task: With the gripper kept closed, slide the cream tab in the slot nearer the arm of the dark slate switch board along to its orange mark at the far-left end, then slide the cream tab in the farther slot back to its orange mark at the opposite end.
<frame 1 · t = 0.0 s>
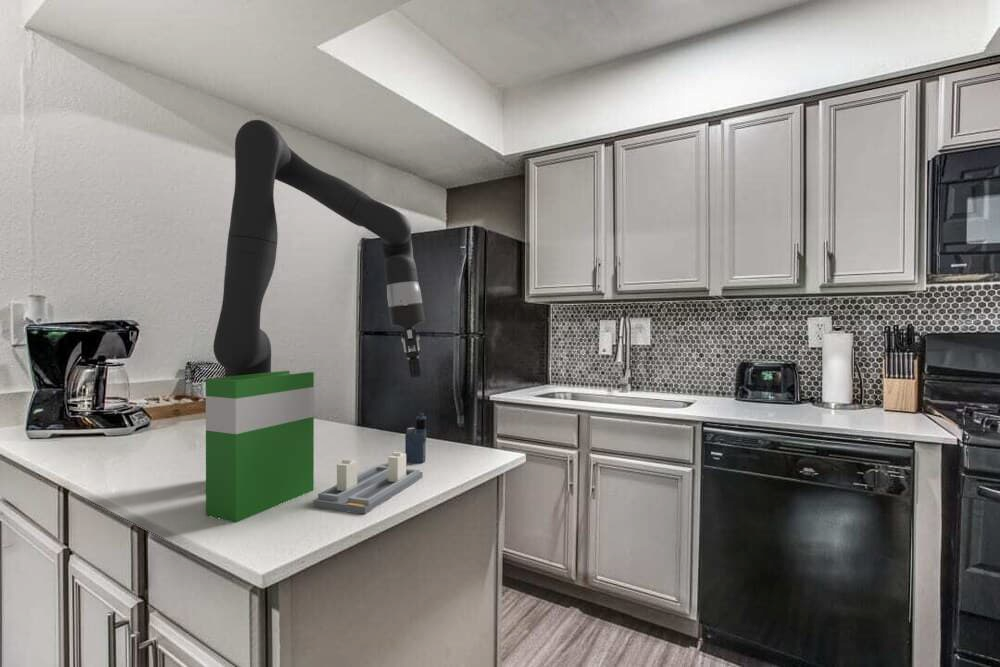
hand: (415, 374, 110), 22 cm above the countertop, tool pointing down, fingers open, 8 cm apart
switch board: (372, 490, 98), on the countertop
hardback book: (263, 503, 91), on the countertop
vaping device: (415, 462, 119), on the countertop
tab A: (347, 473, 95), point 4 cm above the countertop, slide at 0.0 cm
tab B: (397, 465, 101), point 4 cm above the countertop, slide at 0.0 cm
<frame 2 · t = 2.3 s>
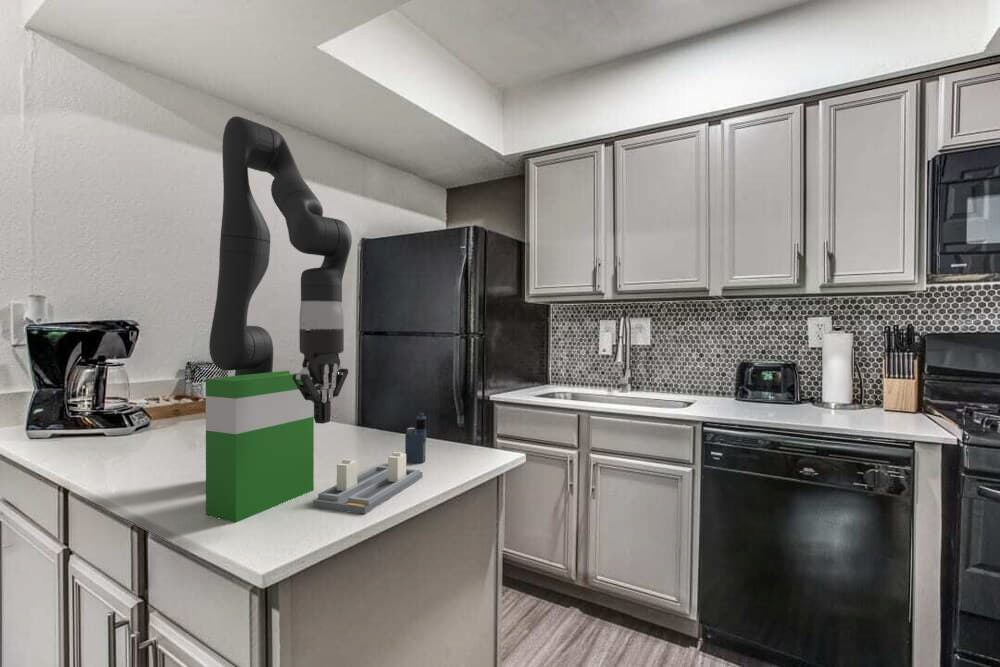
hand: (322, 422, 88), 16 cm above the countertop, tool pointing down, fingers closed
nothing on the countertop moved.
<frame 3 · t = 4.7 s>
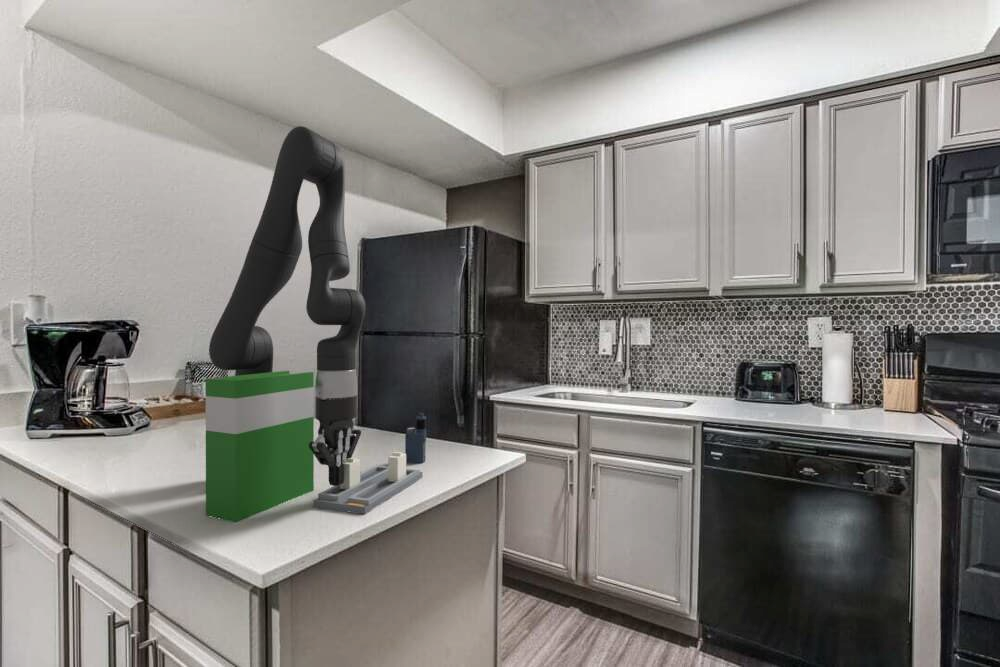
hand: (336, 484, 92), 3 cm above the countertop, tool pointing down, fingers closed
tab A: (350, 472, 96), point 4 cm above the countertop, slide at 1.0 cm, touching gripper
everything else where it was.
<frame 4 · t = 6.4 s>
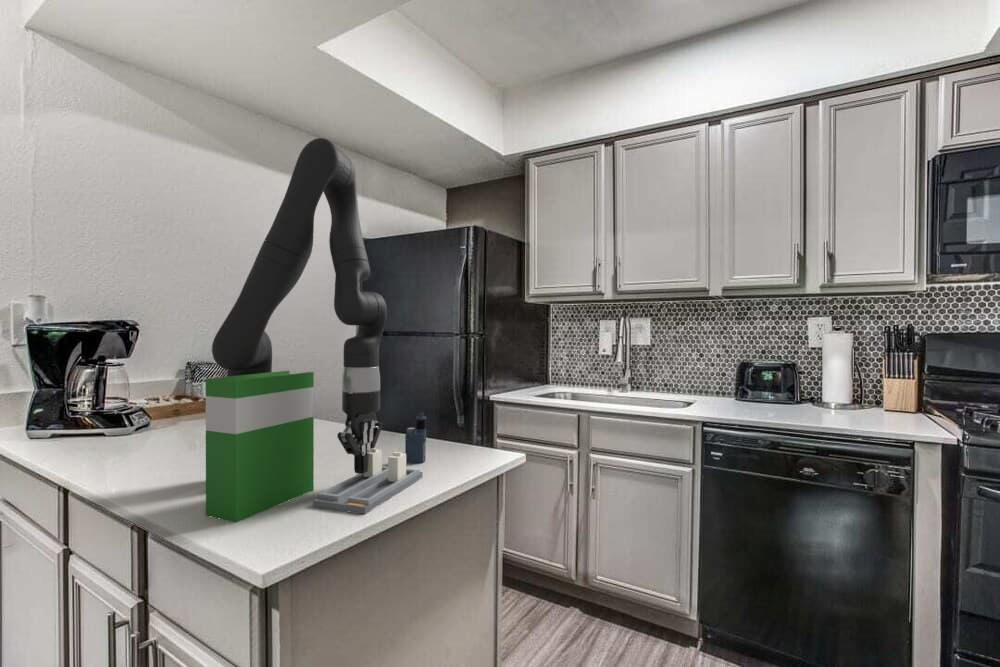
hand: (361, 472, 100), 3 cm above the countertop, tool pointing down, fingers closed
tab A: (372, 461, 104), point 4 cm above the countertop, slide at 9.0 cm, touching gripper
everything else where it was.
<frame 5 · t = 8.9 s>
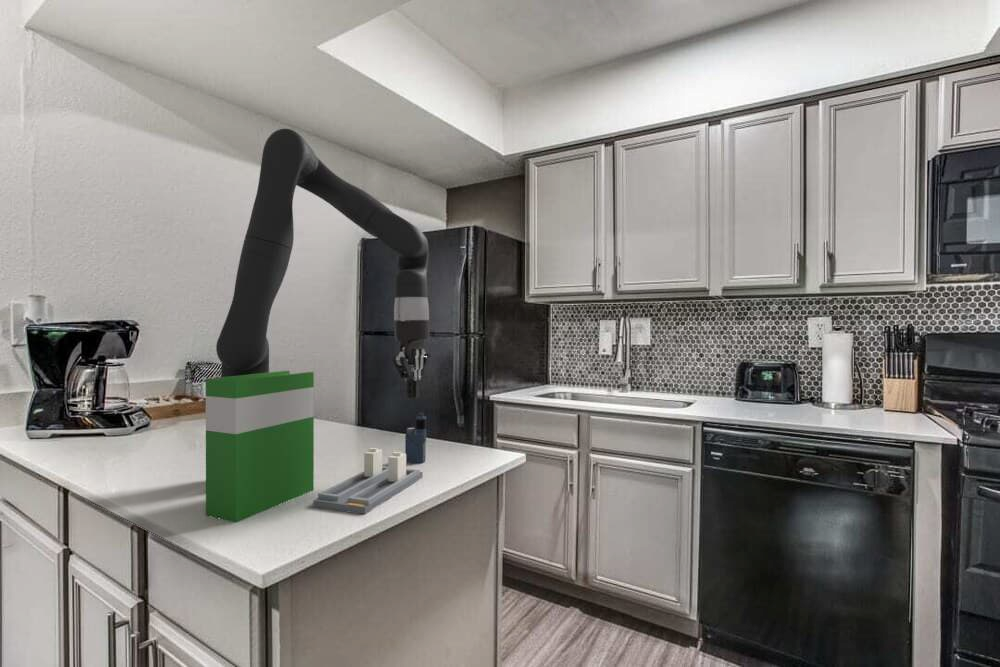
hand: (413, 397, 107), 18 cm above the countertop, tool pointing down, fingers closed
tab A: (373, 461, 104), point 4 cm above the countertop, slide at 9.2 cm
everything else where it was.
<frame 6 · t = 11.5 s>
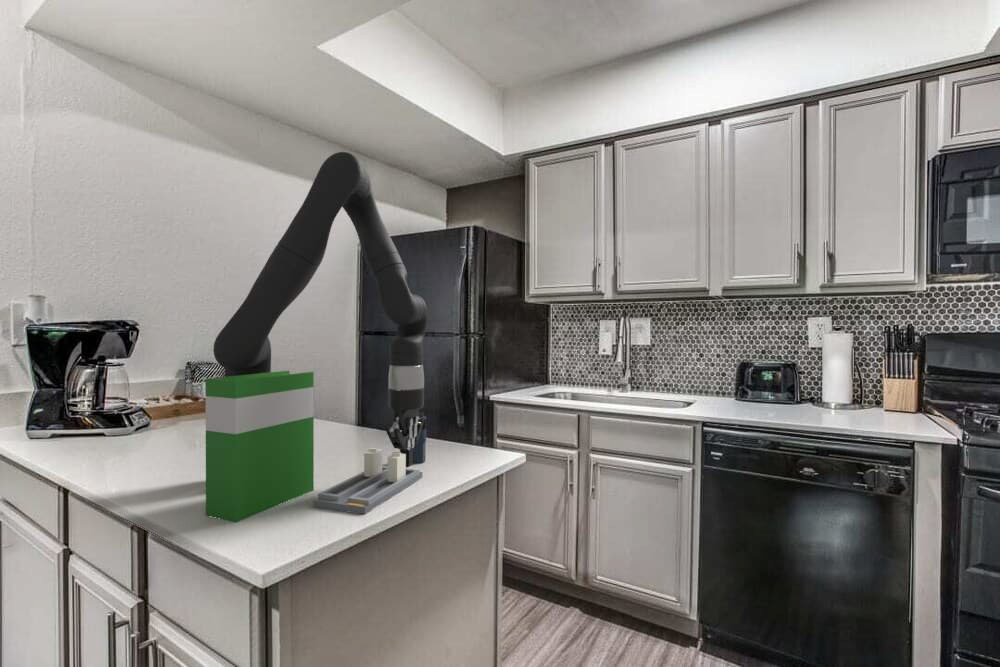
hand: (406, 466, 105), 3 cm above the countertop, tool pointing down, fingers closed
tab B: (396, 466, 100), point 4 cm above the countertop, slide at 0.2 cm, touching gripper
everything else where it was.
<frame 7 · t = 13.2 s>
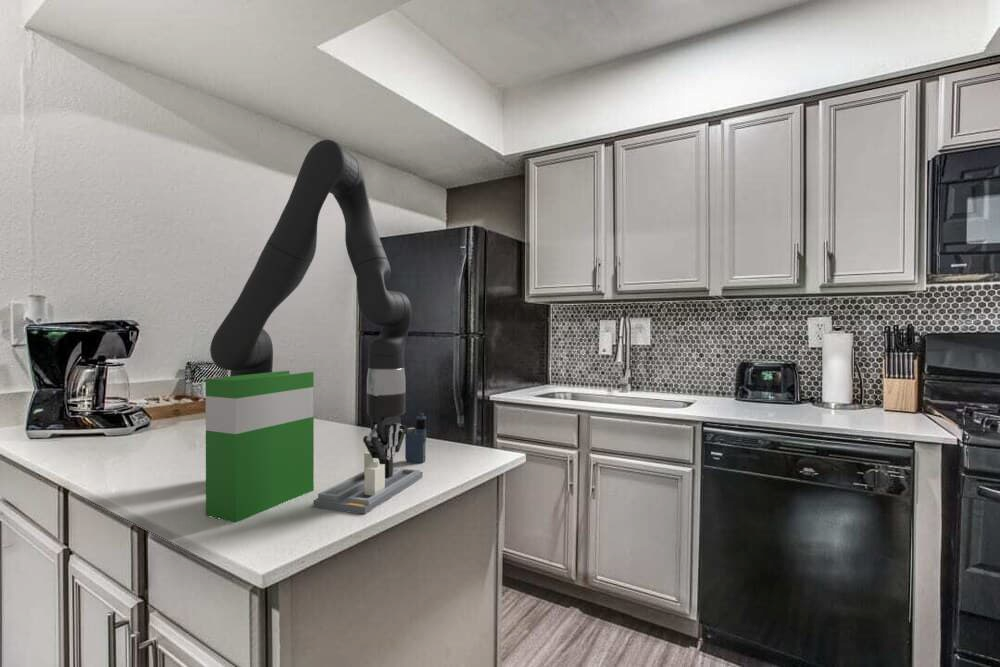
hand: (385, 477, 97), 3 cm above the countertop, tool pointing down, fingers closed
tab B: (374, 477, 93), point 4 cm above the countertop, slide at 8.4 cm, touching gripper
everything else where it was.
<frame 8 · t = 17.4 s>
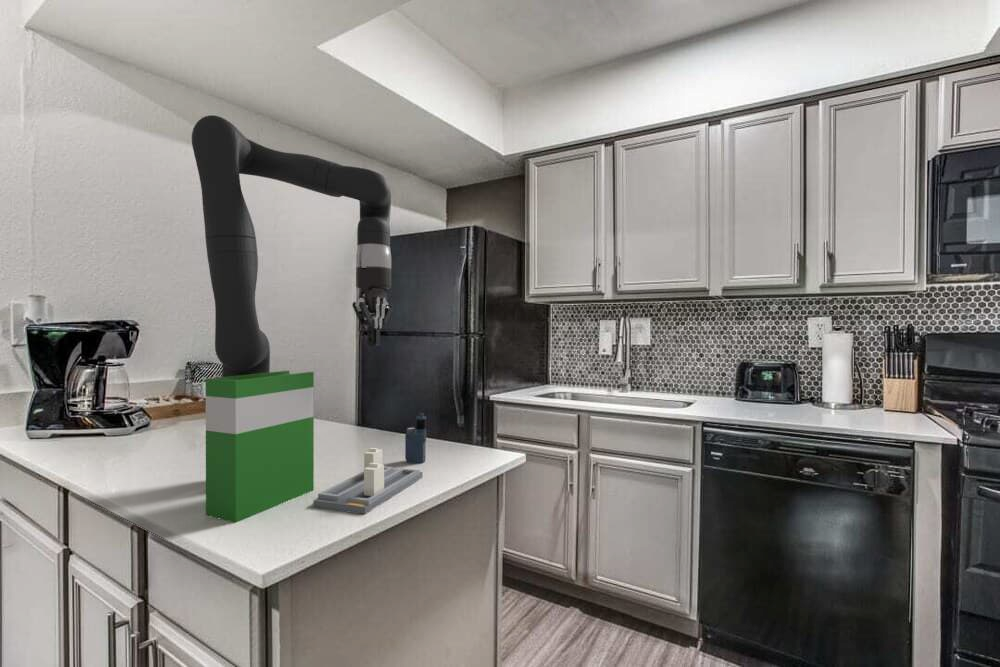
hand: (373, 345, 107), 29 cm above the countertop, tool pointing down, fingers closed
tab B: (374, 478, 92), point 4 cm above the countertop, slide at 8.6 cm
everything else where it was.
at the end: tab A slide at 9.2 cm; tab B slide at 8.6 cm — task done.
